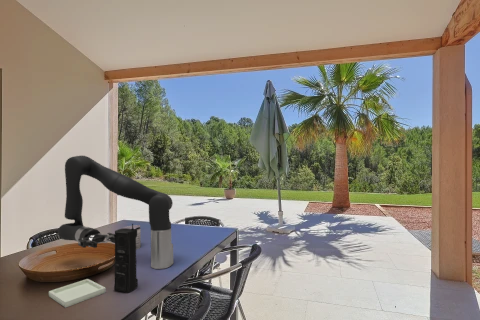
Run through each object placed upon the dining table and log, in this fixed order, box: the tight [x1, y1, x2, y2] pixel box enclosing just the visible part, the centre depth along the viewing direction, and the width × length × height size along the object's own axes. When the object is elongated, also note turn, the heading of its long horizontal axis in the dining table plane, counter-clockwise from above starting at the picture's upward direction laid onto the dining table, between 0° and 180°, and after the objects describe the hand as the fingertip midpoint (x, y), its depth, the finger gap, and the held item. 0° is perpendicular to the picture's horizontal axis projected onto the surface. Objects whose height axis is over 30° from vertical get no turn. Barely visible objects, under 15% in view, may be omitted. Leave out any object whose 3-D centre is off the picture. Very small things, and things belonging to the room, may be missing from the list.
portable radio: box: [113, 223, 139, 294], centre depth 114 cm, size 8×6×25 cm
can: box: [119, 224, 142, 251], centre depth 167 cm, size 11×11×12 cm
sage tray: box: [48, 278, 107, 308], centre depth 110 cm, size 14×14×2 cm
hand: (106, 242), depth 122 cm, fingers open, 8 cm apart
